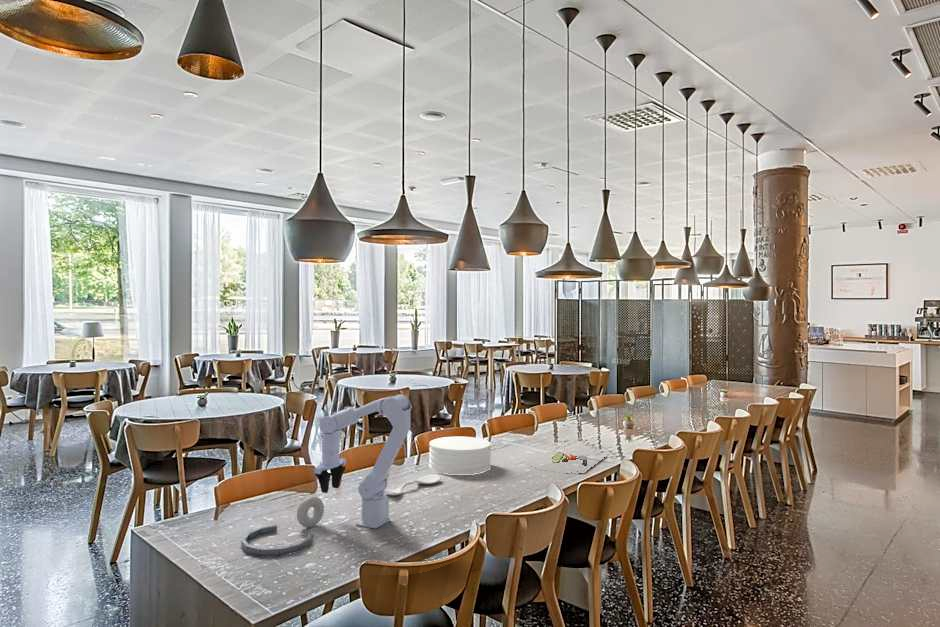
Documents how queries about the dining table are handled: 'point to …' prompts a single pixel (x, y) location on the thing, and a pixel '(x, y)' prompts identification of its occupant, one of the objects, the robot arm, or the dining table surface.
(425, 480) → the spoon
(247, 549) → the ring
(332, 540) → the dining table surface
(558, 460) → the green red elongated piece
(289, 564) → the dining table surface
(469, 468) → the plate stack
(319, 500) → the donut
